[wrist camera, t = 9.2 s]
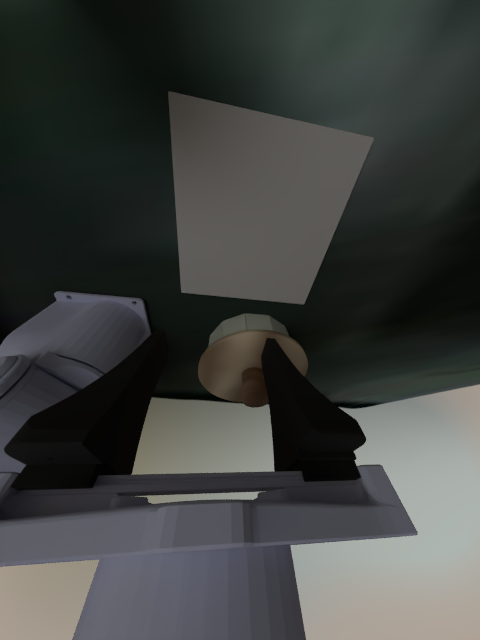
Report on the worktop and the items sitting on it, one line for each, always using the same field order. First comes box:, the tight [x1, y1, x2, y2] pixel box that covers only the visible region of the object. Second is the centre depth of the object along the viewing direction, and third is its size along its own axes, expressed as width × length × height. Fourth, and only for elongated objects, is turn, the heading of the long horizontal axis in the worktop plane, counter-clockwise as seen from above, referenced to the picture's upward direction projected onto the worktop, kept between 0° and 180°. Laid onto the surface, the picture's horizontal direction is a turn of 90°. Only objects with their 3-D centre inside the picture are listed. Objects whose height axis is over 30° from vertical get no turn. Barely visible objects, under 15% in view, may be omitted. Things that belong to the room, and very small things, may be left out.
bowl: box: [209, 313, 289, 346], centre depth 26 cm, size 12×12×4 cm
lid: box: [198, 329, 308, 407], centre depth 22 cm, size 14×14×4 cm
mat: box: [168, 91, 374, 304], centre depth 17 cm, size 15×15×1 cm
